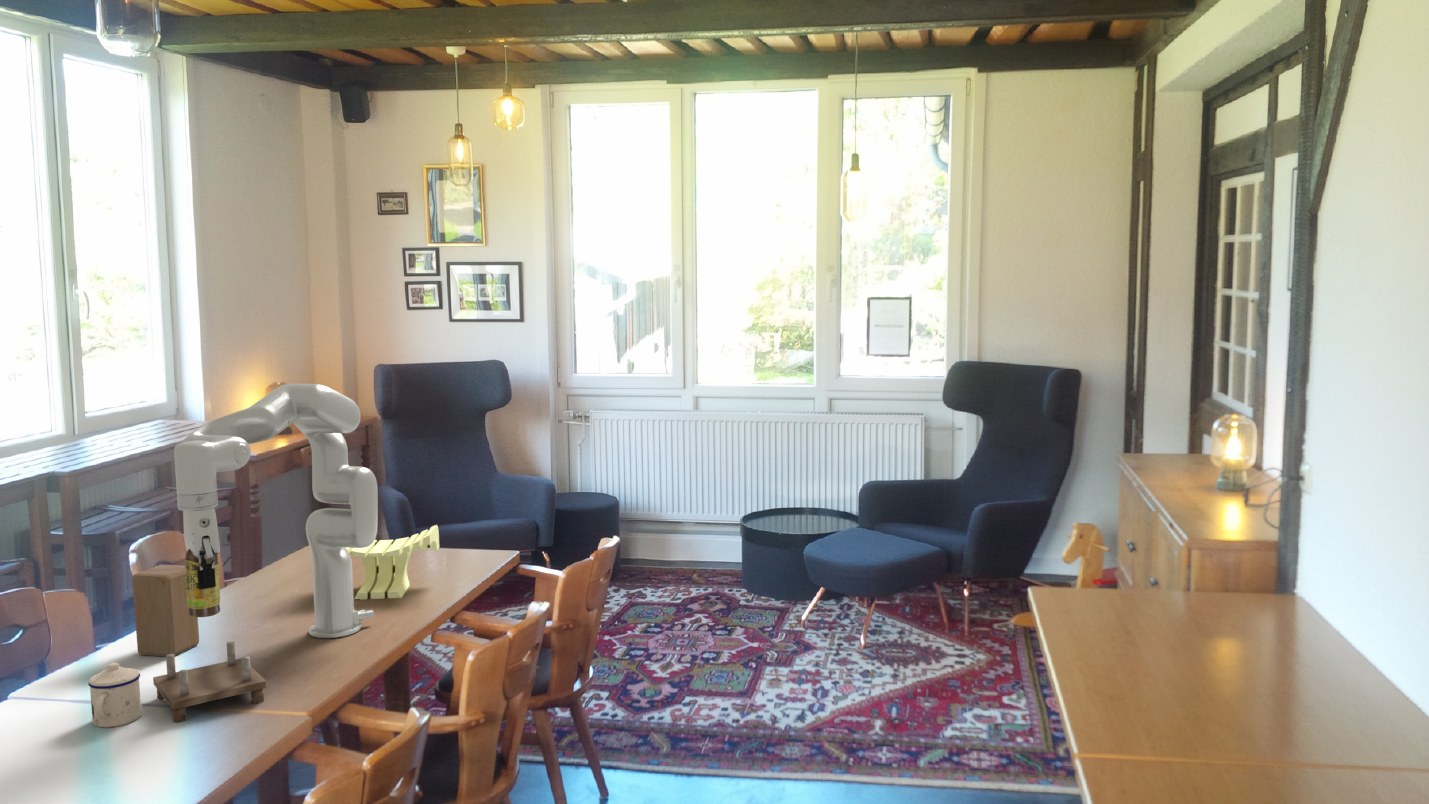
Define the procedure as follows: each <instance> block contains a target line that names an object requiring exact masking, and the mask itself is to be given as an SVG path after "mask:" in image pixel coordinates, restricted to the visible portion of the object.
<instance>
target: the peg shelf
mask: <svg viewBox="0 0 1429 804" xmlns="http://www.w3.org/2000/svg"><path fill="white" fill-rule="evenodd" d="M175 656H176V655H175ZM175 656H174V654H168V655H166V656H165V661H166V664H165V665H166V674H162V675H158V676H154V677H153V680H152V681H153V686H155V689H156V696H157V700H158V699H159V700H158V701H165V702H166V704H168V707H170V709H171V711H172V722H173V723H183V722H185V721H186V720H187V707H191V706H195V705H199V704H204V703H208V702H213V701H216V700H217V701H218V700H220V699H224V698H229V697H234V696H238V695H242V694H246V693H250V697H251V698H250V700H251V704H260V703H259V702H261V703H263V702H264V701H265V697H264V696H265V695H264V689H267V681H266V680H265V678H263V676H262V675H260V674H259V673H258V672H257V670H255V668H254V667H252V665H251V658H250V657H251V656H250V655H249V656H248V655H246V656H242V657H241V658H236V644H235V641H228V642H226V656H227V657H226V658H227V660H226V661H224V662H223V661H222V662H217V663H214V664H208V665H204V666H200V667H195V668H190V669H181V670H179V671H176V657H175ZM163 699H165V700H163Z"/></svg>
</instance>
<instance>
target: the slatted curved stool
mask: <svg viewBox="0 0 1429 804" xmlns="http://www.w3.org/2000/svg"><path fill="white" fill-rule="evenodd" d="M346 549H347V551H348V552H349V554H351V555H350V557H351V558H360V559H361V561H362V564H363V566H364V568H365V574H366V575H365V579H364V582H363V584H362V586H361V587H360V589H359V590H358V591H357V593H356V595H355V596H354V601H355V599H360V600H368V599H370V600H378V599H379V600H381V599H382V600H383V599H385V598H387V599H402V598H403V596H404V595H405V593H406V592H407V590H408V588H409V587H410V581H409V577H408V564H409V561H410V557H411V554H413V553H415V552H417V551H418V550H419V549H420V551H423V550H425V551H427V550H428V549H430V550H431V551H436V552H437V551H438V550H439V549H440V533H439V527H438V524H436V525H435V524H434V525H432V526H431V527H430V528H429V529H425V530H422V531H421V532H420V533H415V534H412V535H411V536H410V537H409V536H407V537H403V538H396V539H395V540H394V539H380V540H377V539H375V540H374V542H373V543H372V544H371V545H370V546H368V547H364V548H349V547H346Z"/></svg>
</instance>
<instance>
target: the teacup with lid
mask: <svg viewBox="0 0 1429 804" xmlns="http://www.w3.org/2000/svg"><path fill="white" fill-rule="evenodd" d="M140 677H141V674H140V672H139V670H138V669H136V668H131V667H125V666H120V663H118V662H112V663H109V664H108V665H107V668H105V669H104V670H102V671H101V672H99V673H96V674H95V675H93V676H91V677H90V678H89V680H88V682H87V683H88V684H87V685H88V687H89V692H90V694H89V695H90V706H91V717H92V718H91V719H92V723H93V725H94V726H95V727H97V728H114V727H120V726H121V727H122V726H124V725H127V724H131V723H133V722H135V721H136V720H138V719H139V718H140V717H141V716H142V703H141V702H142V701H141V700H142V699H141V691H140V690H141V688H140V687H141V686H140V685H141V684H140Z"/></svg>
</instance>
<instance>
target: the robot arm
mask: <svg viewBox="0 0 1429 804" xmlns="http://www.w3.org/2000/svg"><path fill="white" fill-rule="evenodd" d="M292 423H293V425H294V426H295V427H296V428H297V429H298V431H301V433H302V434H303V435H304V436H305V438H306V439H307V441H308V443H309V445H310V449H311V472H312V473H311V477H312V478H311V479H312V480H311V481H312V482H311V485H312V487H311V488H312V493H313V497H314V499H315V500H317V501H318V502H320V503H324V504H335V505H337V504H338V505H339V504H341V505H350V509H349V508H348V509H347V508H336V507H335V508H334V507H330V508H329V507H325V508H320V509H317V510H314V511H313V512H311V514H310V515H308V517H307V519H306V523H305V533H306V534H305V535H306V539H307V542H308V545H309V546H308V547H309V549H310V557H311V566H312V567H311V568H312V571H311V572H312V589H313V607H314V608H313V609H314V624H313V625H310V627H309V628H308V635H310V636H311V637H315V638H319V639H333V638H334V639H335V638H341V637H346V636H350V635H352V634H356V633H357V632H359V631H361V629H362V622H361V621H362V620H364V619H371V618H374V616H375V614H374V613H375V612H374V610H373V609H369V610H365V609H362V610H361V609H360V610H357V609H355V600H354V598H355V596H354V578H353V561H352V560H353V559H352V557H351V555H350V553H349V552H348V551H347V549H346V547H349V548H364V547H368V546H370V545H371V544H372V543H373V542H374V540H376V538H377V534H378V521H379V520H378V519H379V517H378V516H379V515H378V514H379V512H378V506H379V505H378V504H379V502H378V500H379V499H378V498H379V497H378V496H379V495H378V494H379V493H378V492H379V491H378V483H377V482H378V481H377V477H376V476H375V474H374V473H373V471H372V469H370V468H367V467H366V466H365V467H364V466H355V465H349V454H348V450H349V448H348V445H347V441H346V438H345V437H344V434H350V433H352V432H354V431H355V430H356V429H357V428H358V427H359V425H360V423H361V410H360V407H359V406H358V404H357V403H356V402H355V401H354V400H353V399H352V398H349V397H348V396H346V395H345V394H342V393H340V392H339V391H337V390H335V389H332V388H331V387H328V386H326V385H323V384H319V383H286V384H282V385H280V386H278V387H276V388H275V389H274V390H272V391H271V392H269V393H268V394H266V395H265V396H264V397H262V398H261V399H259V400H258V401H257V402H255V403H254V404H252V405H251V406H249V407H247V408H244V409H241V410H238V411H236V412H232V413H230V414H227V415H224V416H221V417H218V418H216V419H213V420H211V421H209V422H207V423H204V424H203V425H201V426H200V427H198V428H197V429H194V431H192V432H191V433H190V434H188V435H187V436H186V437H185V438H184V439H183V441H182V442H179V443H177V444H176V445H175V446H174V449H173V450H174V451H173V453H174V454H173V457H174V469H175V470H174V471H175V472H174V473H175V483H176V485H175V486H176V501H177V510H178V511H182V512H183V513H182V517H183V537H184V545H185V549H186V551H188V549H190V550H191V552H192V554H193V555H194V556H195V557H197V560H198V566H199V570H197V573H198V588H199V589H200V590H201V589H207V588H213V587H215V586H216V581H215V568H214V560H213V552H214V553H215V554H217V555H219V554H220V553H221V546H220V537H219V536H220V535H219V527H218V520H217V515H216V509H215V508H216V507H219V498H218V485H217V484H218V483H217V473H219V472H231V471H238V470H240V469H241V468H243V467H245V466H246V465H247V463H248V462H249V461H250V458H251V456H252V455H251V454H252V451H251V447H250V445H252V444H257V443H261V442H265V441H269V440H271V439H273V438H275V437H276V436H277V435H278V434H280V433H281V432H282V431H284V430H285V429H286V428H288V427H289V426H290V425H292ZM203 521H204V523H203ZM211 547H212V548H211ZM212 549H213V550H212ZM199 551H200V552H199ZM212 551H213V552H212ZM203 552H204V553H205V554H204V555H200V553H203ZM202 558H205V559H203V561H202Z"/></svg>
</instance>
